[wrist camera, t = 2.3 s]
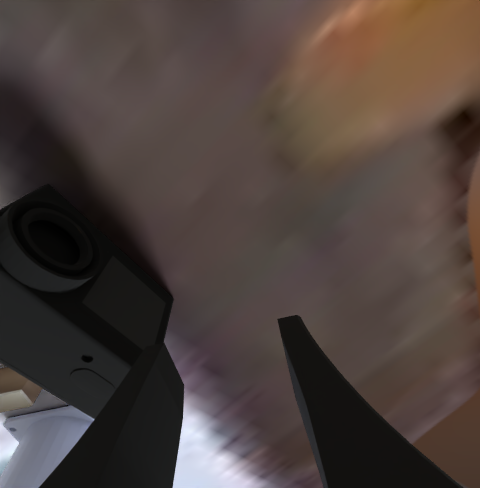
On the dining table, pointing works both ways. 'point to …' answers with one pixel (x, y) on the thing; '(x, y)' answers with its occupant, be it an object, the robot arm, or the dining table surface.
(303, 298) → the dining table surface
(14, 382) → the frame
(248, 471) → the dining table surface
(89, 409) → the digital camera
